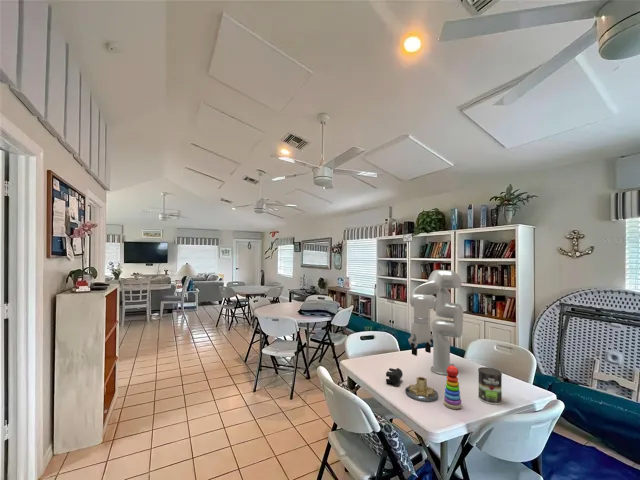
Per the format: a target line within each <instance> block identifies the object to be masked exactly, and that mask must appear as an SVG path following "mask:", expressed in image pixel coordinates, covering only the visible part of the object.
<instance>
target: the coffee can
mask: <svg viewBox="0 0 640 480" xmlns="http://www.w3.org/2000/svg"><path fill="white" fill-rule="evenodd" d="M477 370H478V371H477V372H478V396H477V397H478V399H479V400H480V401H482V402H483V403H485V404H489V405H493V406H494V405H497V406H498V405H501V404H502V403H503V401H502V398H503V397H502V396H503V395H502V393H503V392H502V389H503V388H502V385H503V383H502V382H503V381H502V380H503V379H502V377H503V376H502V375H503V373H502V372H501V371H500V370H498V369H496V368H492V367H484V366H481V367H478V369H477Z"/></svg>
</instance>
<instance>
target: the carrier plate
mask: <svg viewBox="0 0 640 480" xmlns="http://www.w3.org/2000/svg"><path fill="white" fill-rule="evenodd" d="M404 390H405V392H404V393H405V395H406V397H408V398H410V399H412V400H414V401H418V402H421V403H433V402H436V401H438V399H439V393H438V392H437V391H436V390H435V389H434V392H435V396H430V397H428V398H426V397H420V396H418V397H417V396H416V395H414V394H413V393H410V392H409V385H408V386H407V387H405V389H404Z"/></svg>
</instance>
